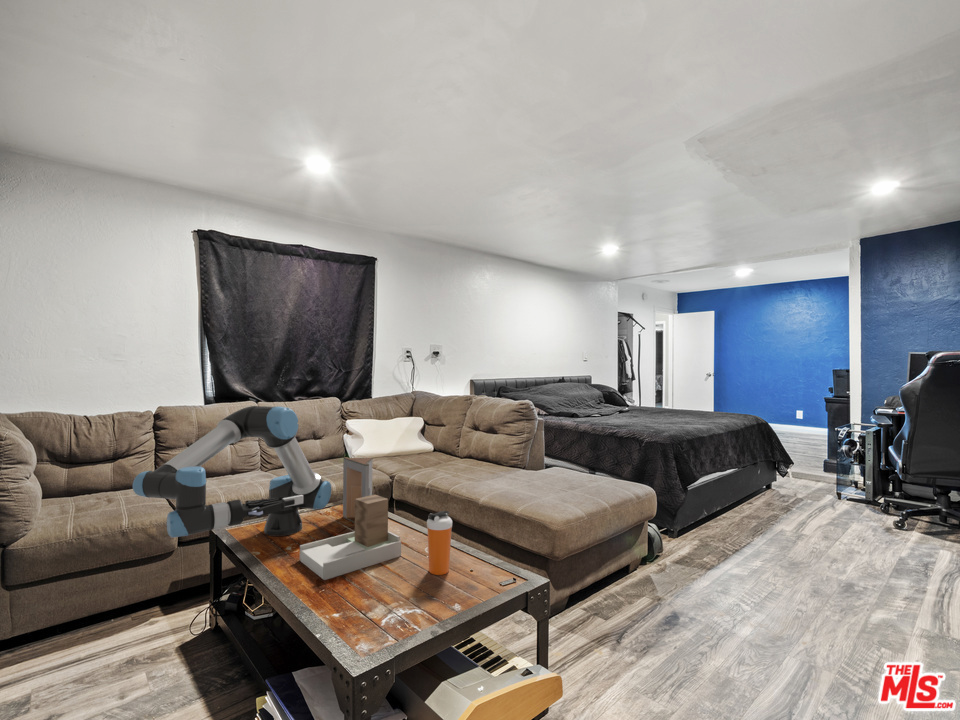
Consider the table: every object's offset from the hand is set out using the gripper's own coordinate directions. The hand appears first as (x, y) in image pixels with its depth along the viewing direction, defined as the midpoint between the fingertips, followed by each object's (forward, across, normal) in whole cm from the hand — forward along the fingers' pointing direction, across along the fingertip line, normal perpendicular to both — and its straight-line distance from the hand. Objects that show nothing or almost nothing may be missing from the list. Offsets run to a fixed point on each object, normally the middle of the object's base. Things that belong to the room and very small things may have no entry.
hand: (302, 499), depth 161 cm
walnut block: (+27, -1, -22) cm, 35 cm away
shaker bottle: (+36, +30, -26) cm, 54 cm away
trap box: (+18, 0, -26) cm, 31 cm away
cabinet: (+42, -35, -26) cm, 61 cm away
